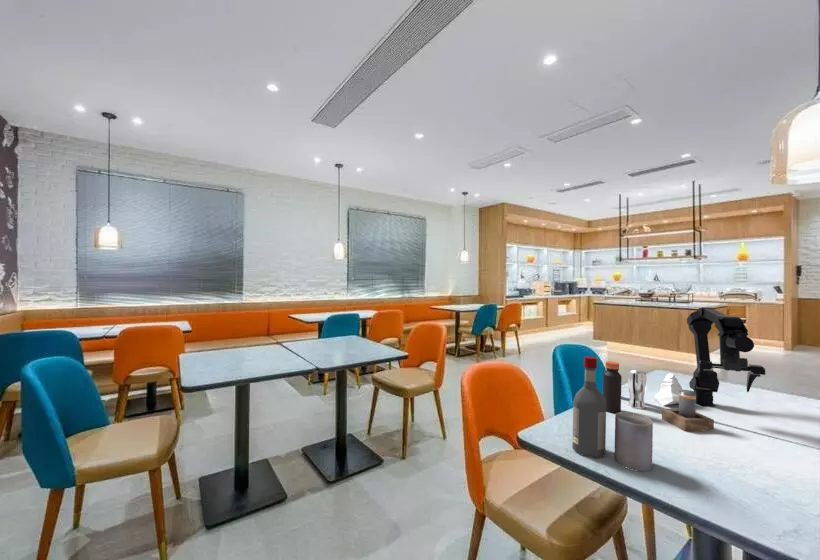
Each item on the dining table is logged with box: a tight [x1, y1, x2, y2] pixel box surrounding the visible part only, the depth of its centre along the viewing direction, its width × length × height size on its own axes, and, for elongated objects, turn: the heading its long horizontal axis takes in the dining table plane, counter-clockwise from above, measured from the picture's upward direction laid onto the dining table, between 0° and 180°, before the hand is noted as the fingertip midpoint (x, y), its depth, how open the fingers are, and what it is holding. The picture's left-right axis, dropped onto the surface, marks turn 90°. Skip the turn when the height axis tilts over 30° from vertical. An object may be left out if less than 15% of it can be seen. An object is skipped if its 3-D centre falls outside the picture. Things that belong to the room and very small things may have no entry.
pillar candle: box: [613, 411, 654, 472], centre depth 107 cm, size 10×10×15 cm
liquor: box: [571, 355, 607, 459], centre depth 114 cm, size 9×9×30 cm
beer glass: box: [627, 369, 648, 410], centre depth 154 cm, size 7×7×15 cm
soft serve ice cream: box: [654, 372, 683, 407], centre depth 159 cm, size 12×15×14 cm
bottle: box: [602, 361, 623, 414], centre depth 149 cm, size 7×7×20 cm
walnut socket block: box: [661, 408, 715, 432], centre depth 136 cm, size 11×11×4 cm
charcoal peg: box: [678, 389, 697, 418], centre depth 136 cm, size 5×5×12 cm
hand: (731, 389), depth 137 cm, fingers open, 9 cm apart
